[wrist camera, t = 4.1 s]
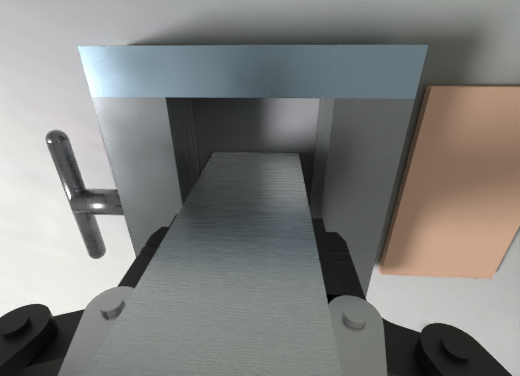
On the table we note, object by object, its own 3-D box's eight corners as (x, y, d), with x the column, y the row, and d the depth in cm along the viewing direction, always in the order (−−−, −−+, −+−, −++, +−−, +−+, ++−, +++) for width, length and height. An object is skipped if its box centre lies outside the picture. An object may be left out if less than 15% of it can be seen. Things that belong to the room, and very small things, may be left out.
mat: (426, 85, 11) (431, 87, 11) (582, 86, 11) (592, 87, 11) (378, 269, 16) (380, 274, 16) (486, 273, 16) (491, 278, 15)
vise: (44, 45, 11) (-27, 46, 9) (390, 44, 11) (428, 44, 8) (114, 260, 17) (83, 301, 14) (347, 268, 16) (361, 313, 13)
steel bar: (213, 151, 13) (-54, 614, 2) (298, 153, 13) (398, 661, 2) (219, 221, 15) (81, 656, 4) (293, 223, 15) (336, 685, 4)
